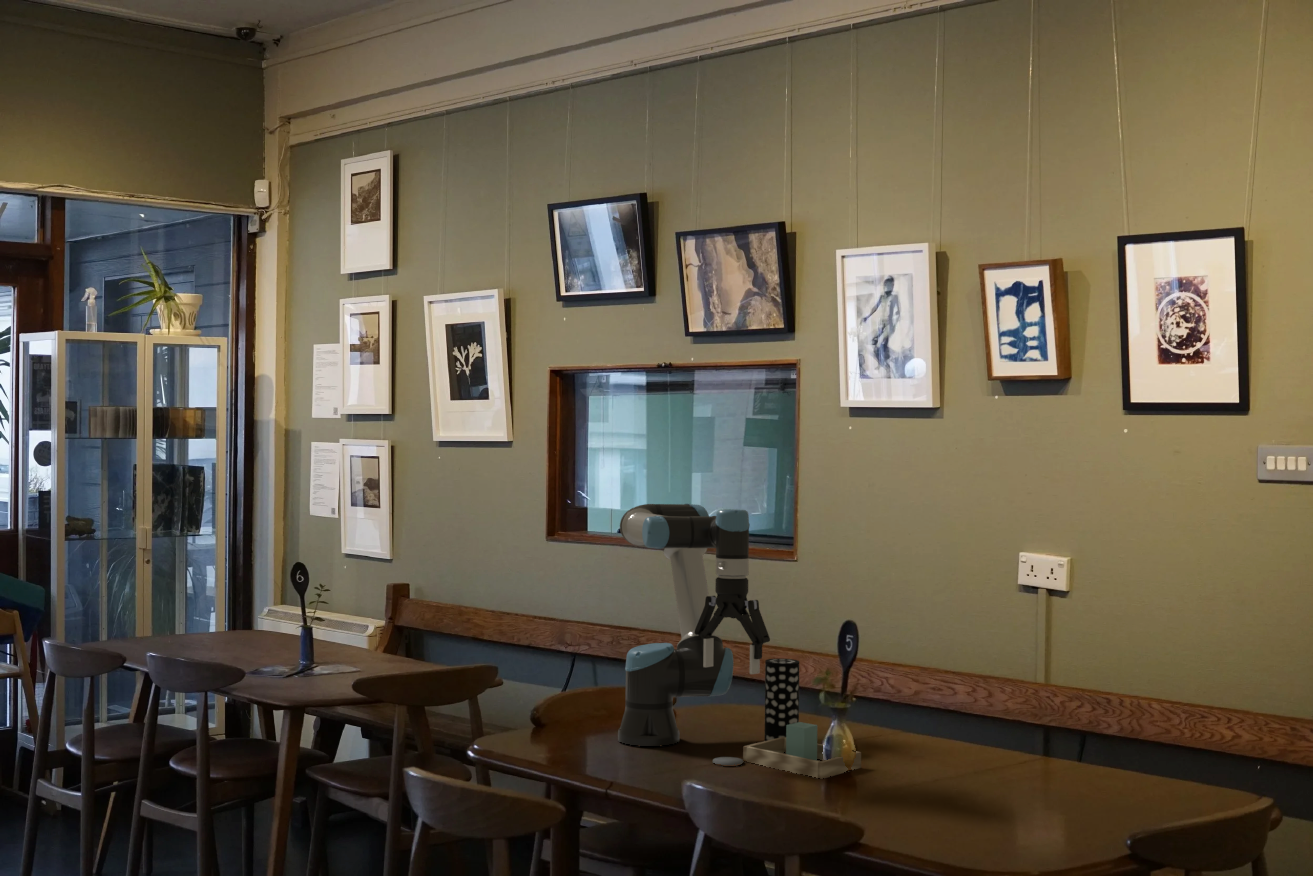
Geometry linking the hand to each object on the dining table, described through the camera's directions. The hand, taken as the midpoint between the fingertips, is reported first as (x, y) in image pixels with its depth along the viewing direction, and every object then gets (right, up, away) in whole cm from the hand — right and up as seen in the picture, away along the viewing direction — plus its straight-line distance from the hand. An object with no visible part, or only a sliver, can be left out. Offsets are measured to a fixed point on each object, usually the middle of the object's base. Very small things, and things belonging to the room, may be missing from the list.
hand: (731, 670), depth 285 cm
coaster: (-1, -21, -1) cm, 21 cm away
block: (+16, -21, -2) cm, 27 cm away
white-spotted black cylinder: (+14, -22, +21) cm, 33 cm away
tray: (+16, -21, -2) cm, 26 cm away
